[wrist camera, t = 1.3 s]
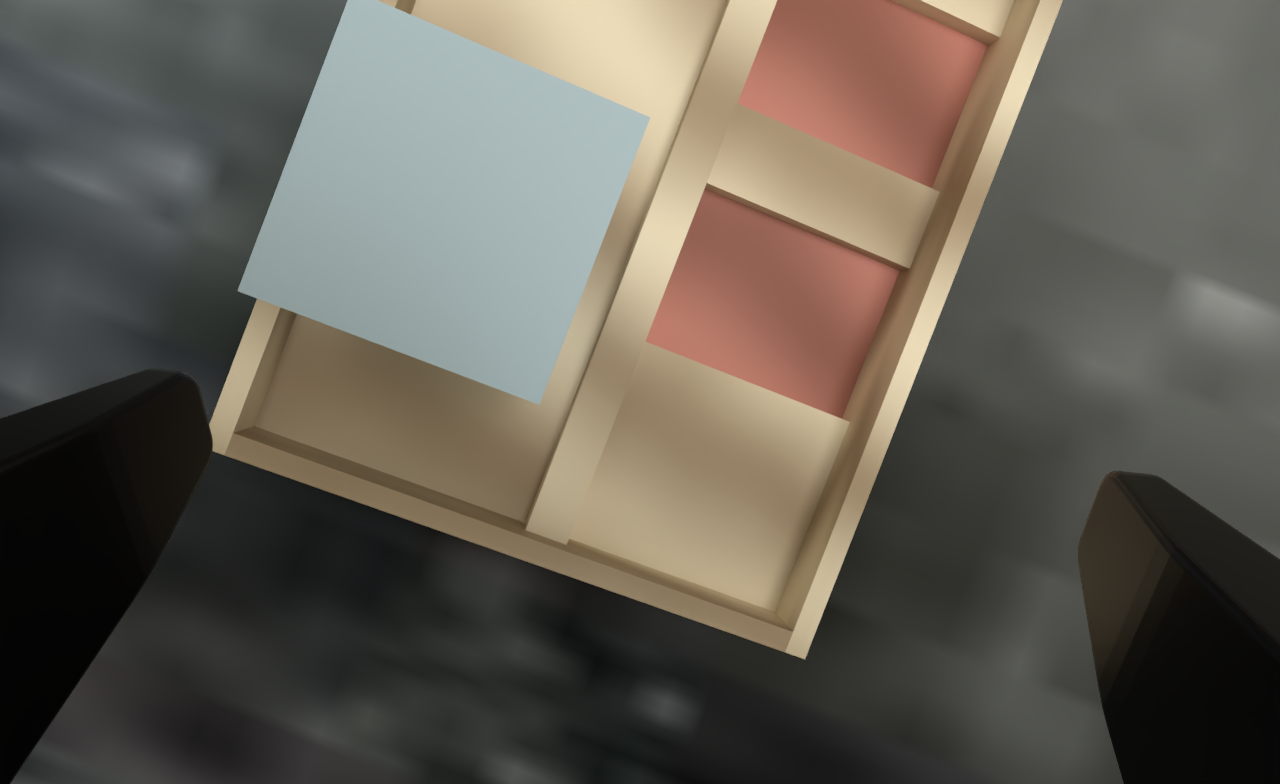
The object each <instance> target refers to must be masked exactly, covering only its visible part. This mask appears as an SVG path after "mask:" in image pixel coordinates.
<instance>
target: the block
mask: <svg viewBox="0 0 1280 784" xmlns="http://www.w3.org/2000/svg"><path fill="white" fill-rule="evenodd" d="M649 119H650V117H648V116H646V115H643V114H641V113H639V112H636V111H634V110H632V109H629V108H627V107H625V106H622V105H620V104H618V103H615V102H613V101H611V100H608V99H606V98H604V97H601V96H599V95H597V94H594V93H592V92H590V91H588V90H585V89H583V88H581V87H578V86H576V85H574V84H571V83H569V82H567V81H564V80H562V79H560V78H557V77H555V76H553V75H550V74H548V73H546V72H543V71H541V70H539V69H536V68H534V67H532V66H529V65H527V64H525V63H522V62H520V61H518V60H515V59H513V58H511V57H508V56H506V55H504V54H501V53H499V52H497V51H494V50H492V49H490V48H487V47H485V46H483V45H480V44H478V43H476V42H473V41H471V40H469V39H466V38H464V37H462V36H459V35H457V34H455V33H452V32H450V31H448V30H445V29H443V28H441V27H438V26H436V25H434V24H432V23H429V22H427V21H425V20H422V19H420V18H418V17H415V16H413V15H411V14H408V13H406V12H404V11H401V10H399V9H397V8H394V7H392V6H390V5H387V4H385V3H383V2H380V1H378V0H348V1H347V4H346V7H345V9H344V12H343V14H342V17H341V20H340V22H339V25H338V28H337V30H336V33H335V36H334V38H333V41H332V43H331V46H330V49H329V51H328V54H327V57H326V59H325V62H324V65H323V67H322V70H321V72H320V75H319V78H318V80H317V83H316V86H315V88H314V91H313V93H312V96H311V99H310V101H309V104H308V107H307V109H306V112H305V115H304V117H303V120H302V122H301V125H300V128H299V130H298V133H297V136H296V138H295V141H294V143H293V146H292V149H291V151H290V154H289V157H288V159H287V162H286V165H285V167H284V170H283V172H282V175H281V178H280V180H279V183H278V186H277V188H276V191H275V194H274V196H273V199H272V201H271V204H270V207H269V209H268V212H267V215H266V217H265V220H264V222H263V225H262V228H261V230H260V233H259V236H258V238H257V241H256V244H255V246H254V249H253V251H252V254H251V257H250V259H249V262H248V265H247V267H246V270H245V272H244V275H243V278H242V280H241V283H240V286H239V288H238V291H239V292H241V293H244V294H247V295H249V296H252V297H254V298H257V299H260V300H262V301H265V302H268V303H270V304H273V305H276V306H278V307H281V308H284V309H286V310H289V311H292V312H294V313H297V314H300V315H302V316H305V317H308V318H310V319H313V320H316V321H318V322H321V323H323V324H326V325H329V326H331V327H334V328H337V329H339V330H342V331H345V332H347V333H350V334H353V335H355V336H358V337H361V338H363V339H366V340H369V341H371V342H374V343H377V344H379V345H382V346H385V347H387V348H390V349H392V350H395V351H398V352H400V353H403V354H406V355H408V356H411V357H414V358H416V359H419V360H422V361H424V362H427V363H430V364H432V365H435V366H438V367H440V368H443V369H446V370H448V371H451V372H454V373H456V374H459V375H461V376H464V377H467V378H469V379H472V380H475V381H477V382H480V383H483V384H485V385H488V386H491V387H493V388H496V389H499V390H501V391H504V392H507V393H509V394H512V395H515V396H517V397H520V398H523V399H525V400H528V401H530V402H533V403H536V404H538V405H540V402H541V399H542V397H543V394H544V392H545V389H546V387H547V384H548V381H549V379H550V376H551V374H552V371H553V368H554V366H555V363H556V361H557V358H558V355H559V353H560V350H561V348H562V345H563V342H564V340H565V337H566V335H567V332H568V329H569V327H570V324H571V322H572V319H573V316H574V314H575V311H576V309H577V306H578V304H579V301H580V298H581V296H582V293H583V291H584V288H585V285H586V283H587V280H588V278H589V275H590V272H591V270H592V267H593V265H594V262H595V259H596V257H597V254H598V252H599V249H600V246H601V244H602V241H603V239H604V236H605V233H606V231H607V228H608V226H609V223H610V221H611V218H612V215H613V213H614V210H615V208H616V205H617V202H618V200H619V197H620V195H621V192H622V189H623V187H624V184H625V182H626V179H627V176H628V174H629V171H630V169H631V166H632V163H633V161H634V158H635V156H636V153H637V150H638V148H639V145H640V143H641V140H642V138H643V135H644V132H645V130H646V127H647V125H648V122H649Z"/></svg>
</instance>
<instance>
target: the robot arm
mask: <svg viewBox="0 0 1280 784" xmlns="http://www.w3.org/2000/svg"><path fill="white" fill-rule="evenodd" d="M212 450H213V439H212V434H211V430H210V426H209V422H208V419H207V415H206V411H205V407H204V404H203V400H202V396H201V392H200V388H199V386H198V383H197V381H196V380H195V378H194V377H193V376H192V375H190V374H189V373H187V372H182V371H173V370H163V369H147V370H144V371H141V372H138V373H135V374H132V375H129V376H126V377H123V378H120V379H117V380H114V381H111V382H108V383H105V384H102V385H99V386H96V387H93V388H90V389H87V390H84V391H81V392H78V393H75V394H72V395H69V396H66V397H63V398H60V399H57V400H54V401H51V402H48V403H45V404H42V405H39V406H36V407H34V408H31V409H28V410H25V411H22V412H19V413H16V414H13V415H10V416H7V417H4V418H1V419H0V784H10V783H11V782H12V780H13V779H14V777H15V776H16V774H17V773H18V771H19V770H20V768H21V767H22V765H23V764H24V762H25V761H26V760H27V758H28V757H29V755H30V754H31V752H32V751H33V749H34V748H35V746H36V745H37V743H38V742H39V740H40V739H41V737H42V736H43V734H44V733H45V731H46V730H47V728H48V727H49V725H50V724H51V722H52V721H53V719H54V718H55V716H56V715H57V713H58V712H59V710H60V709H61V707H62V706H63V704H64V703H65V702H66V700H67V699H68V697H69V696H70V694H71V693H72V691H73V690H74V688H75V687H76V685H77V684H78V682H79V681H80V679H81V678H82V676H83V675H84V673H85V672H86V670H87V669H88V667H89V666H90V664H91V663H92V661H93V660H94V658H95V657H96V655H97V654H98V652H99V651H100V649H101V648H102V646H103V645H104V643H105V642H106V641H107V639H108V638H109V636H110V635H111V633H112V632H113V630H114V629H115V627H116V626H117V624H118V623H119V621H120V620H121V618H122V617H123V615H124V614H125V612H126V611H127V609H128V608H129V606H130V605H131V603H132V602H133V600H134V599H135V597H136V596H137V594H138V592H139V591H140V589H141V588H142V586H143V585H144V583H145V581H146V580H147V578H148V576H149V574H150V573H151V571H152V569H153V567H154V566H155V564H156V562H157V560H158V559H159V557H160V555H161V553H162V551H163V549H164V547H165V545H166V543H167V541H168V540H169V538H170V536H171V534H172V532H173V530H174V528H175V526H176V524H177V523H178V521H179V519H180V517H181V515H182V513H183V511H184V509H185V507H186V506H187V504H188V502H189V500H190V498H191V496H192V494H193V492H194V490H195V488H196V487H197V485H198V483H199V481H200V479H201V477H202V475H203V473H204V471H205V470H206V468H207V466H208V464H209V461H210V459H211V455H212ZM1078 564H1079V571H1080V577H1081V583H1082V589H1083V595H1084V601H1085V607H1086V614H1087V620H1088V626H1089V632H1090V638H1091V644H1092V651H1093V657H1094V663H1095V669H1096V675H1097V681H1098V687H1099V692H1100V697H1101V702H1102V708H1103V711H1104V715H1105V719H1106V723H1107V727H1108V730H1109V734H1110V738H1111V741H1112V744H1113V748H1114V751H1115V755H1116V758H1117V761H1118V765H1119V768H1120V772H1121V775H1122V779H1123V782H1124V784H1280V559H1279V558H1277V557H1276V556H1274V555H1273V554H1271V553H1270V552H1268V551H1267V550H1265V549H1264V548H1263V547H1261V546H1260V545H1258V544H1257V543H1255V542H1254V541H1252V540H1251V539H1249V538H1248V537H1247V536H1245V535H1244V534H1242V533H1241V532H1239V531H1238V530H1236V529H1235V528H1233V527H1232V526H1231V525H1229V524H1228V523H1226V522H1225V521H1223V520H1222V519H1220V518H1219V517H1217V516H1216V515H1214V514H1213V513H1212V512H1210V511H1209V510H1207V509H1206V508H1204V507H1203V506H1201V505H1200V504H1198V503H1197V502H1196V501H1194V500H1193V499H1191V498H1190V497H1188V496H1187V495H1185V494H1184V493H1182V492H1181V491H1180V490H1178V489H1177V488H1175V487H1174V486H1172V485H1171V484H1169V483H1168V482H1166V481H1165V480H1163V479H1162V478H1160V477H1159V476H1155V475H1152V474H1143V473H1133V472H1123V471H1113V472H1111V473H1109V474H1107V475H1106V476H1105V478H1104V479H1103V480H1102V482H1101V484H1100V487H1099V489H1098V492H1097V495H1096V497H1095V500H1094V503H1093V505H1092V508H1091V511H1090V514H1089V516H1088V519H1087V522H1086V524H1085V527H1084V530H1083V533H1082V535H1081V538H1080V542H1079V549H1078Z"/></svg>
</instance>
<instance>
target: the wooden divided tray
mask: <svg viewBox="0 0 1280 784" xmlns="http://www.w3.org/2000/svg"><path fill="white" fill-rule="evenodd" d="M378 1H380V2H383V3H385V4H387V5H390V6H392V7H394V8H397V9H399V10H401V11H404V12H406V13H408V14H411V15H413V16H415V17H418V18H420V19H422V20H425V21H427V22H429V23H432V24H434V25H436V26H438V27H441V28H443V29H445V30H448V31H450V32H452V33H455V34H457V35H459V36H462V37H464V38H466V39H469V40H471V41H473V42H476V43H478V44H480V45H483V46H485V47H487V48H490V49H492V50H494V51H497V52H499V53H501V54H504V55H506V56H508V57H511V58H513V59H515V60H518V61H520V62H522V63H525V64H527V65H529V66H532V67H534V68H536V69H539V70H541V71H543V72H546V73H548V74H550V75H553V76H555V77H557V78H560V79H562V80H564V81H567V82H569V83H571V84H574V85H576V86H578V87H581V88H583V89H585V90H588V91H590V92H592V93H594V94H597V95H599V96H601V97H604V98H606V99H608V100H611V101H613V102H615V103H618V104H620V105H622V106H625V107H627V108H629V109H632V110H634V111H636V112H639V113H641V114H643V115H646V116H648V117H650V119H649V122H648V125H647V127H646V130H645V132H644V135H643V138H642V140H641V143H640V145H639V148H638V150H637V153H636V156H635V158H634V161H633V163H632V166H631V169H630V171H629V174H628V176H627V179H626V182H625V184H624V187H623V189H622V192H621V195H620V197H619V200H618V202H617V205H616V208H615V210H614V213H613V215H612V218H611V221H610V223H609V226H608V228H607V231H606V233H605V236H604V239H603V241H602V244H601V246H600V249H599V252H598V254H597V257H596V259H595V262H594V265H593V267H592V270H591V272H590V275H589V278H588V280H587V283H586V285H585V288H584V291H583V293H582V296H581V298H580V301H579V304H578V306H577V309H576V311H575V314H574V316H573V319H572V322H571V324H570V327H569V329H568V332H567V335H566V337H565V340H564V342H563V345H562V348H561V350H560V353H559V355H558V358H557V361H556V363H555V366H554V368H553V371H552V374H551V376H550V379H549V381H548V384H547V387H546V389H545V392H544V394H543V397H542V399H541V402H540V405H538V404H536V403H533V402H530V401H528V400H525V399H523V398H520V397H517V396H515V395H512V394H509V393H507V392H504V391H501V390H499V389H496V388H493V387H491V386H488V385H485V384H483V383H480V382H477V381H475V380H472V379H469V378H467V377H464V376H461V375H459V374H456V373H454V372H451V371H448V370H446V369H443V368H440V367H438V366H435V365H432V364H430V363H427V362H424V361H422V360H419V359H416V358H414V357H411V356H408V355H406V354H403V353H400V352H398V351H395V350H392V349H390V348H387V347H385V346H382V345H379V344H377V343H374V342H371V341H369V340H366V339H363V338H361V337H358V336H355V335H353V334H350V333H347V332H345V331H342V330H339V329H337V328H334V327H331V326H329V325H326V324H323V323H321V322H318V321H316V320H313V319H310V318H308V317H305V316H302V315H300V314H297V313H294V312H292V311H289V310H286V309H284V308H281V307H278V306H276V305H273V304H270V303H268V302H265V301H262V300H260V299H257V300H256V303H255V306H254V308H253V311H252V314H251V316H250V319H249V321H248V324H247V327H246V329H245V332H244V335H243V337H242V340H241V342H240V345H239V348H238V350H237V353H236V356H235V358H234V361H233V364H232V366H231V369H230V371H229V374H228V377H227V379H226V382H225V385H224V387H223V390H222V392H221V395H220V398H219V400H218V403H217V406H216V408H215V411H214V414H213V416H212V419H211V421H210V424H209V426H210V430H211V434H212V439H213V450H212V451H214V452H216V453H219V454H222V455H225V456H228V457H231V458H233V459H236V460H239V461H242V462H245V463H248V464H251V465H253V466H256V467H259V468H262V469H265V470H268V471H270V472H273V473H276V474H279V475H282V476H285V477H288V478H290V479H293V480H296V481H299V482H302V483H305V484H307V485H310V486H313V487H316V488H319V489H322V490H324V491H327V492H330V493H333V494H336V495H339V496H342V497H344V498H347V499H350V500H353V501H356V502H359V503H361V504H364V505H367V506H370V507H373V508H376V509H379V510H381V511H384V512H387V513H390V514H393V515H396V516H398V517H401V518H404V519H407V520H410V521H413V522H416V523H418V524H421V525H424V526H427V527H430V528H433V529H435V530H438V531H441V532H444V533H447V534H450V535H453V536H455V537H458V538H461V539H464V540H467V541H470V542H472V543H475V544H478V545H481V546H484V547H487V548H490V549H492V550H495V551H498V552H501V553H504V554H507V555H509V556H512V557H515V558H518V559H521V560H524V561H527V562H529V563H532V564H535V565H538V566H541V567H544V568H546V569H549V570H552V571H555V572H558V573H561V574H564V575H566V576H569V577H572V578H575V579H578V580H581V581H583V582H586V583H589V584H592V585H595V586H598V587H600V588H603V589H606V590H609V591H612V592H615V593H618V594H620V595H623V596H626V597H629V598H632V599H635V600H637V601H640V602H643V603H646V604H649V605H652V606H655V607H657V608H660V609H663V610H666V611H669V612H672V613H674V614H677V615H680V616H683V617H686V618H689V619H692V620H694V621H697V622H700V623H703V624H706V625H709V626H711V627H714V628H717V629H720V630H723V631H726V632H729V633H731V634H734V635H737V636H740V637H743V638H746V639H748V640H751V641H754V642H757V643H760V644H763V645H766V646H768V647H771V648H774V649H777V650H780V651H783V652H785V653H788V654H791V655H794V656H797V657H800V658H803V659H805V658H806V655H807V653H808V650H809V648H810V645H811V642H812V640H813V637H814V635H815V632H816V630H817V627H818V625H819V622H820V619H821V617H822V614H823V612H824V609H825V607H826V604H827V602H828V599H829V596H830V594H831V591H832V589H833V586H834V584H835V581H836V579H837V576H838V573H839V571H840V568H841V566H842V563H843V561H844V558H845V556H846V553H847V550H848V548H849V545H850V543H851V540H852V538H853V535H854V533H855V530H856V527H857V525H858V522H859V520H860V517H861V515H862V512H863V510H864V507H865V504H866V502H867V499H868V497H869V494H870V492H871V489H872V487H873V484H874V481H875V479H876V476H877V474H878V471H879V469H880V466H881V464H882V461H883V459H884V456H885V453H886V451H887V448H888V446H889V443H890V441H891V438H892V436H893V433H894V430H895V428H896V425H897V423H898V420H899V418H900V415H901V413H902V410H903V407H904V405H905V402H906V400H907V397H908V395H909V392H910V390H911V387H912V384H913V382H914V379H915V377H916V374H917V372H918V369H919V367H920V364H921V361H922V359H923V356H924V354H925V351H926V349H927V346H928V344H929V341H930V338H931V336H932V333H933V331H934V328H935V326H936V323H937V321H938V318H939V315H940V313H941V310H942V308H943V305H944V303H945V300H946V298H947V295H948V292H949V290H950V287H951V285H952V282H953V280H954V277H955V275H956V272H957V270H958V267H959V264H960V262H961V259H962V257H963V254H964V252H965V249H966V247H967V244H968V241H969V239H970V236H971V234H972V231H973V229H974V226H975V224H976V221H977V218H978V216H979V213H980V211H981V208H982V206H983V203H984V201H985V198H986V195H987V193H988V190H989V188H990V185H991V183H992V180H993V178H994V175H995V172H996V170H997V167H998V165H999V162H1000V160H1001V157H1002V155H1003V152H1004V149H1005V147H1006V144H1007V142H1008V139H1009V137H1010V134H1011V132H1012V129H1013V126H1014V124H1015V121H1016V119H1017V116H1018V114H1019V111H1020V109H1021V106H1022V104H1023V101H1024V98H1025V96H1026V93H1027V91H1028V88H1029V86H1030V83H1031V81H1032V78H1033V75H1034V73H1035V70H1036V68H1037V65H1038V63H1039V60H1040V58H1041V55H1042V52H1043V50H1044V47H1045V45H1046V42H1047V40H1048V37H1049V35H1050V32H1051V29H1052V27H1053V24H1054V22H1055V19H1056V17H1057V14H1058V12H1059V9H1060V6H1061V4H1062V1H1063V0H378Z"/></svg>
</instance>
